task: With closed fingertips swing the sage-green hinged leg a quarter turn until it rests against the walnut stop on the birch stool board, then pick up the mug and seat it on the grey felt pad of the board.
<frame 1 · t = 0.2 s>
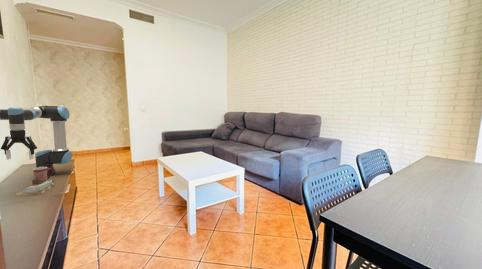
hand: (20, 159, 153), 28 cm above the tv stand, fingers open, 13 cm apart
stool board: (36, 190, 166), on the tv stand
mug: (44, 183, 181), on the tv stand
leg: (44, 184, 167), point 4 cm above the tv stand, hinge at 0.0°
seat pad: (30, 192, 162), resting on stool board
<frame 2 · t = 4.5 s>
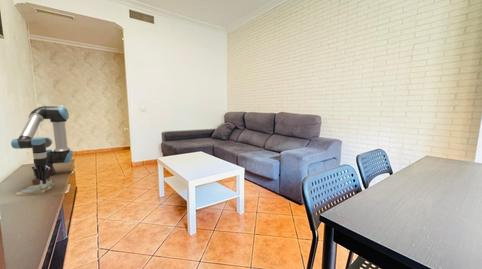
hand: (43, 187, 164), 3 cm above the tv stand, fingers closed
leg: (43, 184, 167), point 4 cm above the tv stand, hinge at -6.3°, touching gripper
everything else where it was.
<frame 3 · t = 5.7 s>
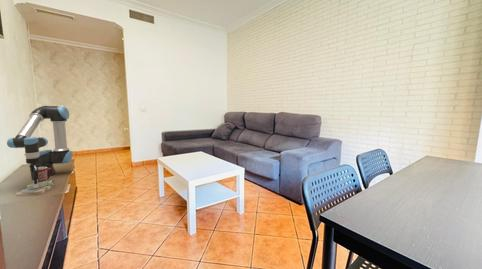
hand: (35, 187, 163), 3 cm above the tv stand, fingers closed
leg: (40, 184, 167), point 4 cm above the tv stand, hinge at -40.8°, touching gripper
everything else where it was.
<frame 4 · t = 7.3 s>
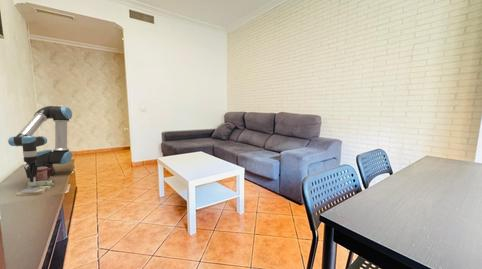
hand: (33, 185, 167), 3 cm above the tv stand, fingers closed
leg: (40, 182, 170), point 4 cm above the tv stand, hinge at -80.2°, touching gripper
everything else where it was.
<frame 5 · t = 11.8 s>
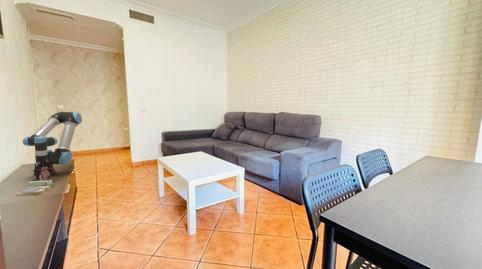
hand: (43, 180, 180), 2 cm above the tv stand, fingers open, 10 cm apart
mug: (44, 183, 181), on the tv stand, touching gripper
leg: (40, 182, 170), point 4 cm above the tv stand, hinge at -83.7°
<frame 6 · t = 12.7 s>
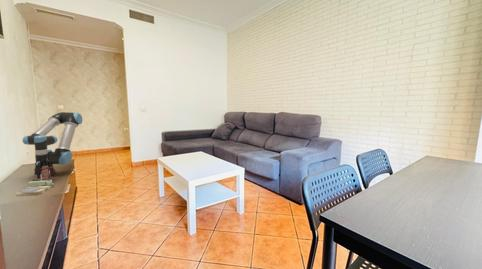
hand: (44, 179, 181), 3 cm above the tv stand, fingers closed on mug, 10 cm apart
mug: (45, 182, 182), on the tv stand, touching gripper
everything else where it was.
when the fingers open (6 cm above the tv stand, at t = 17.8 s): mug drops 1 cm, resting on seat pad.
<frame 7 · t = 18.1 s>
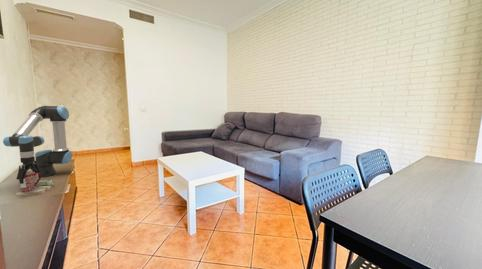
hand: (30, 184, 161), 7 cm above the tv stand, fingers open, 13 cm apart
mug: (31, 189, 162), point 2 cm above the tv stand, touching seat pad
everything else where it was.
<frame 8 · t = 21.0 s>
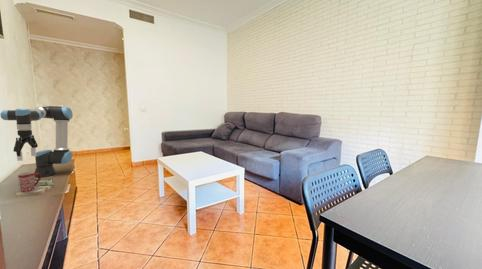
hand: (27, 158, 159), 27 cm above the tv stand, fingers open, 13 cm apart
nothing on the tv stand moved.
at the end: leg at -84° (first picture: +0°); mug 0.3 cm from the seat pad (horizontally); mug tilted 0° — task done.
